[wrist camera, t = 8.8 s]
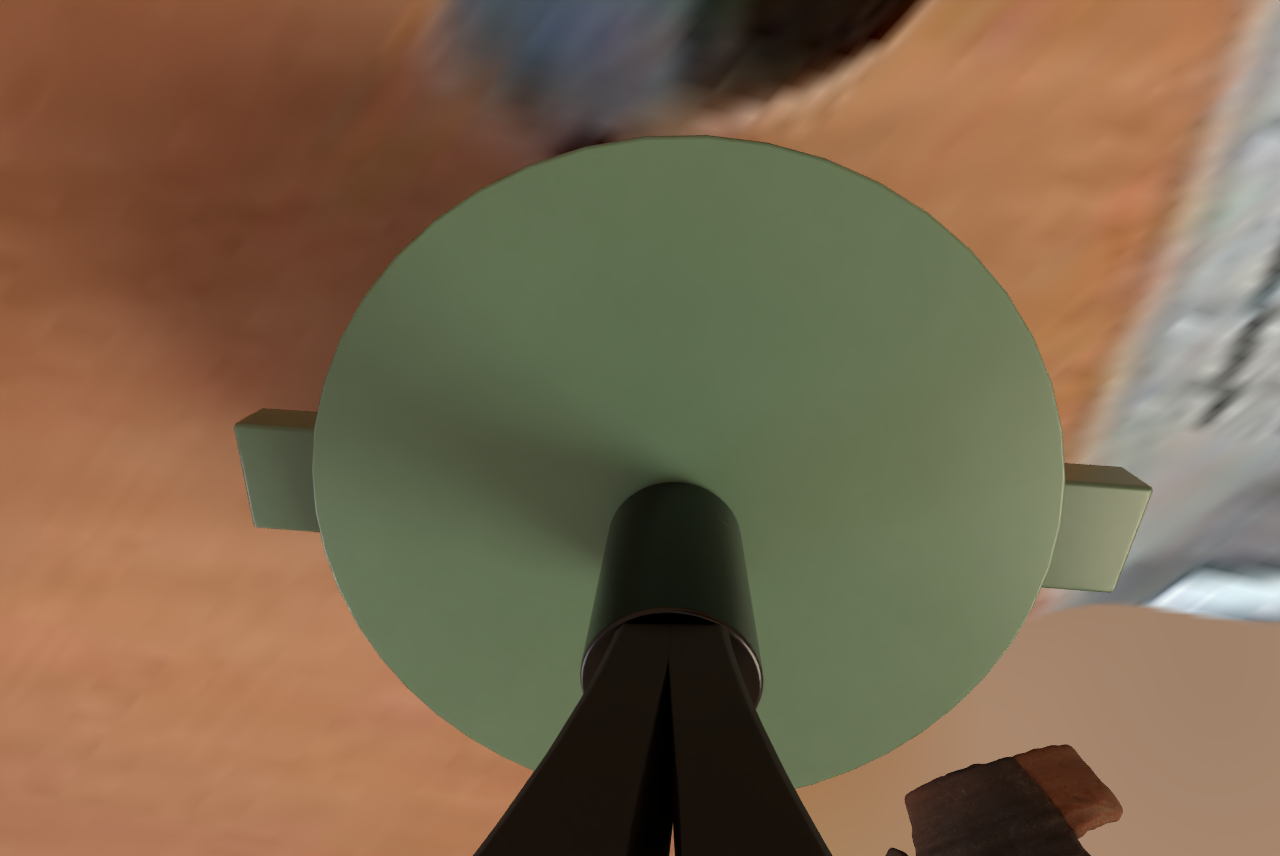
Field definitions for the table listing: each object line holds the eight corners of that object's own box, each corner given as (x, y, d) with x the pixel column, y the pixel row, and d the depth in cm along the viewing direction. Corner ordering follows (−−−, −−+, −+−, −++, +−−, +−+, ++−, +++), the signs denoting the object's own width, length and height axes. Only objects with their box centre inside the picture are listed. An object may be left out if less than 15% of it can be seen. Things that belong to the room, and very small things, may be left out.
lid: (943, 784, 15) (1050, 1037, 11) (377, 734, 15) (257, 954, 11) (1137, 160, 10) (1493, 151, 6) (292, 118, 10) (14, 79, 6)
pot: (962, 638, 19) (1061, 803, 14) (375, 591, 20) (271, 732, 15) (1090, 195, 15) (1306, 207, 10) (320, 155, 15) (143, 146, 10)
